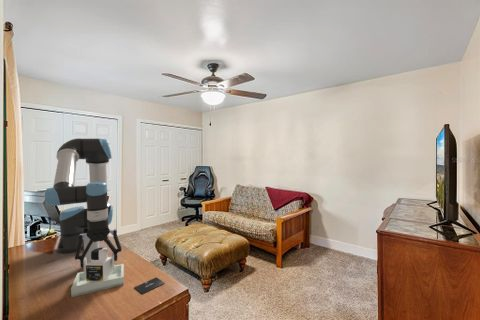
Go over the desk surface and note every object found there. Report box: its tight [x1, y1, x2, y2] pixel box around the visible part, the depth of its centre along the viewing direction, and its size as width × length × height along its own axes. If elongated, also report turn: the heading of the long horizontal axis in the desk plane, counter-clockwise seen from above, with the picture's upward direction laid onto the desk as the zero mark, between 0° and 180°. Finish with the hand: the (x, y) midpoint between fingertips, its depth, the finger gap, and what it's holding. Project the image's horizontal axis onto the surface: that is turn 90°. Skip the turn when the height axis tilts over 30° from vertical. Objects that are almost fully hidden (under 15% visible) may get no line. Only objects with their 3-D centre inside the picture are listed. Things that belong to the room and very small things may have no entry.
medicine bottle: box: [86, 247, 113, 281], centre depth 99 cm, size 7×7×12 cm
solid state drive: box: [133, 276, 165, 295], centre depth 97 cm, size 7×10×1 cm
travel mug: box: [83, 227, 100, 264], centre depth 115 cm, size 6×7×20 cm
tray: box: [70, 263, 125, 298], centre depth 100 cm, size 13×18×4 cm
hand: (99, 271), depth 100 cm, fingers open, 10 cm apart
